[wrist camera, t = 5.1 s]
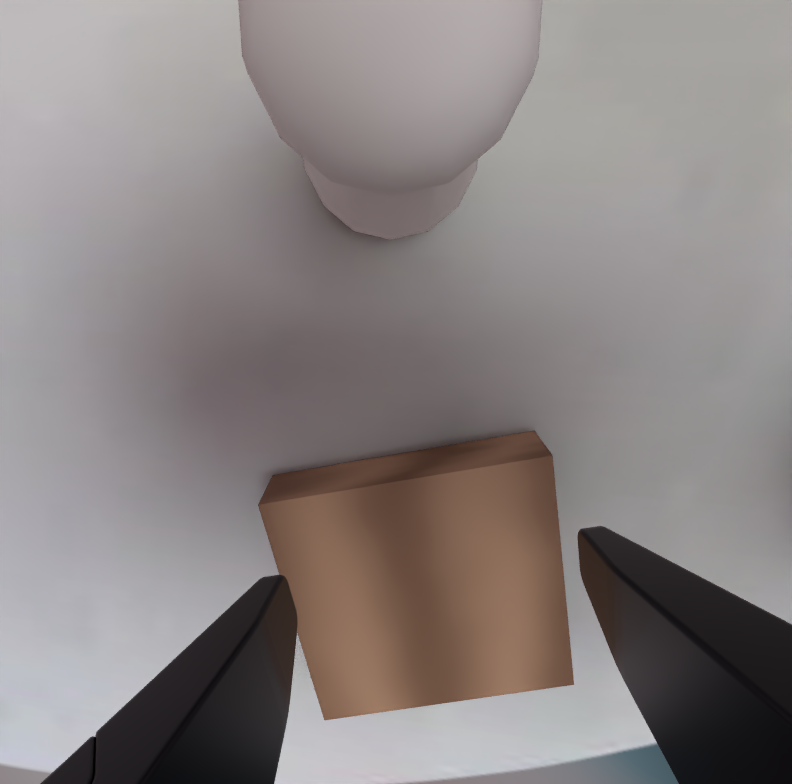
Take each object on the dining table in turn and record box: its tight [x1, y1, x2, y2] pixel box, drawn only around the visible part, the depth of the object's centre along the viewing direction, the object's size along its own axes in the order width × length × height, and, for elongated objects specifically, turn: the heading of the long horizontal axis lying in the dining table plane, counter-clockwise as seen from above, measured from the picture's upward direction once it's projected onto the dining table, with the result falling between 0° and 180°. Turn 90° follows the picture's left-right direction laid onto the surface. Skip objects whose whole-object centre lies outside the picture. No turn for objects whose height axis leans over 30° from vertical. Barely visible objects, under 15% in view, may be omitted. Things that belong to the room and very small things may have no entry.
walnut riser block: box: [258, 431, 574, 720], centre depth 23 cm, size 12×12×3 cm
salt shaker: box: [238, 0, 542, 240], centre depth 12 cm, size 6×6×13 cm
